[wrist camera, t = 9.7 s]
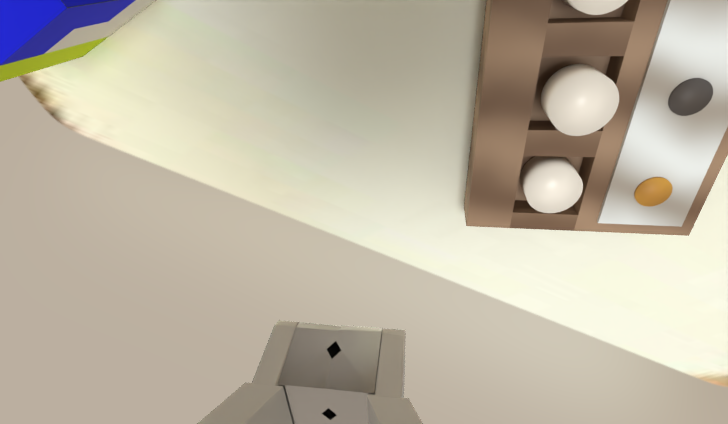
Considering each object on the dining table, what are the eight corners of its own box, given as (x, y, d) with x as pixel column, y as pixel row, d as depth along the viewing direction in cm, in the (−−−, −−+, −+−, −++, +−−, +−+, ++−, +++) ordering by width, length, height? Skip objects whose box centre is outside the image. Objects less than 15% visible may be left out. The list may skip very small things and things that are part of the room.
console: (497, -99, 25) (506, -106, 22) (814, -119, 23) (871, -129, 20) (464, 207, 37) (466, 229, 34) (669, 214, 34) (692, 239, 31)
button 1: (524, 152, 32) (531, 166, 30) (578, 153, 31) (589, 167, 29) (516, 196, 34) (521, 212, 32) (566, 197, 34) (575, 214, 31)
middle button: (547, 63, 27) (557, 73, 25) (612, 63, 26) (627, 73, 24) (535, 122, 29) (544, 135, 27) (595, 122, 28) (608, 136, 26)
